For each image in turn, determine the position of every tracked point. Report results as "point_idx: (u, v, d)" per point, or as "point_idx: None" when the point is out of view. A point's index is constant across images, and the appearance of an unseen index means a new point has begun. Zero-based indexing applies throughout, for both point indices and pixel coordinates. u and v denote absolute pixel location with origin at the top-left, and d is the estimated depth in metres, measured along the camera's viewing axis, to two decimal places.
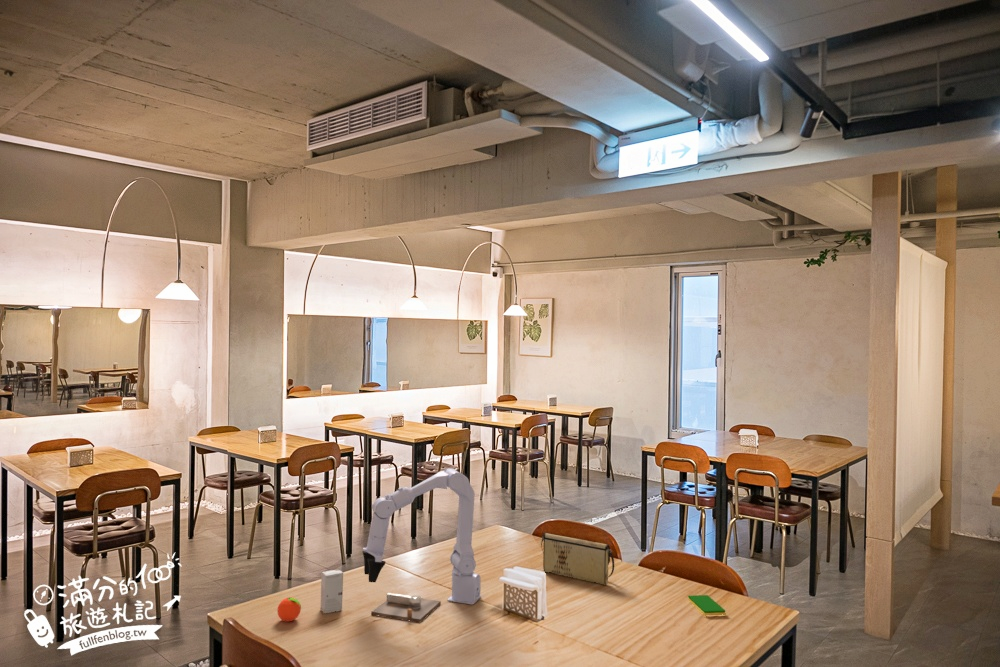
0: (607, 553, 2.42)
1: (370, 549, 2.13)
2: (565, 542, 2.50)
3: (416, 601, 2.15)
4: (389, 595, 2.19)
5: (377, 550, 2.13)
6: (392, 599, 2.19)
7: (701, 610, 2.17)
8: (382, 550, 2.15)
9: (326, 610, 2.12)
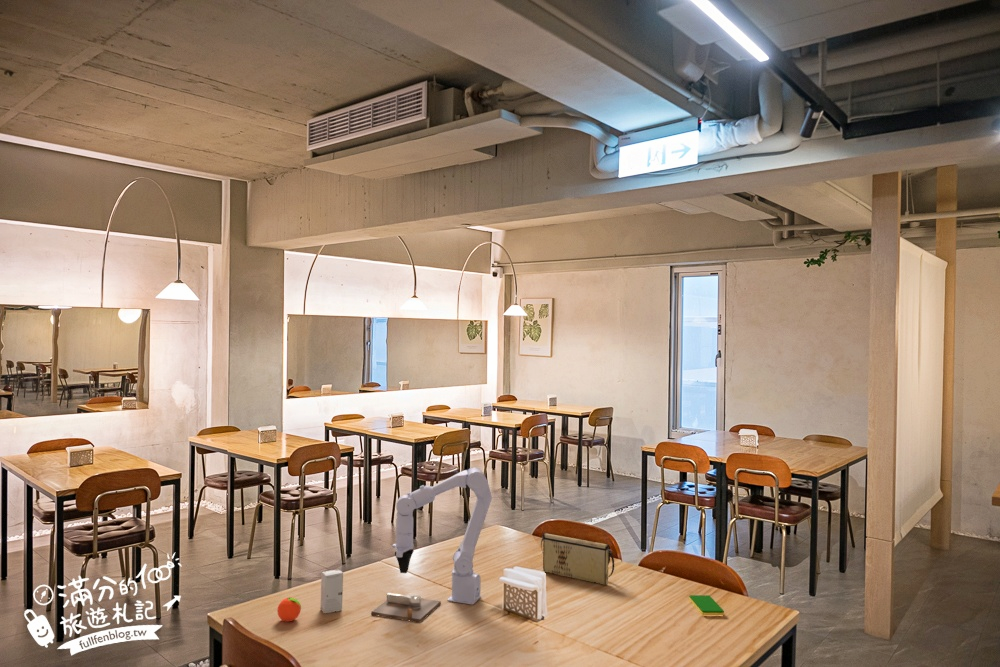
0: (607, 553, 2.42)
1: (397, 545, 2.23)
2: (565, 542, 2.50)
3: (416, 601, 2.15)
4: (389, 595, 2.19)
5: (402, 546, 2.22)
6: (392, 599, 2.19)
7: (700, 610, 2.17)
8: (408, 546, 2.22)
9: (326, 610, 2.12)
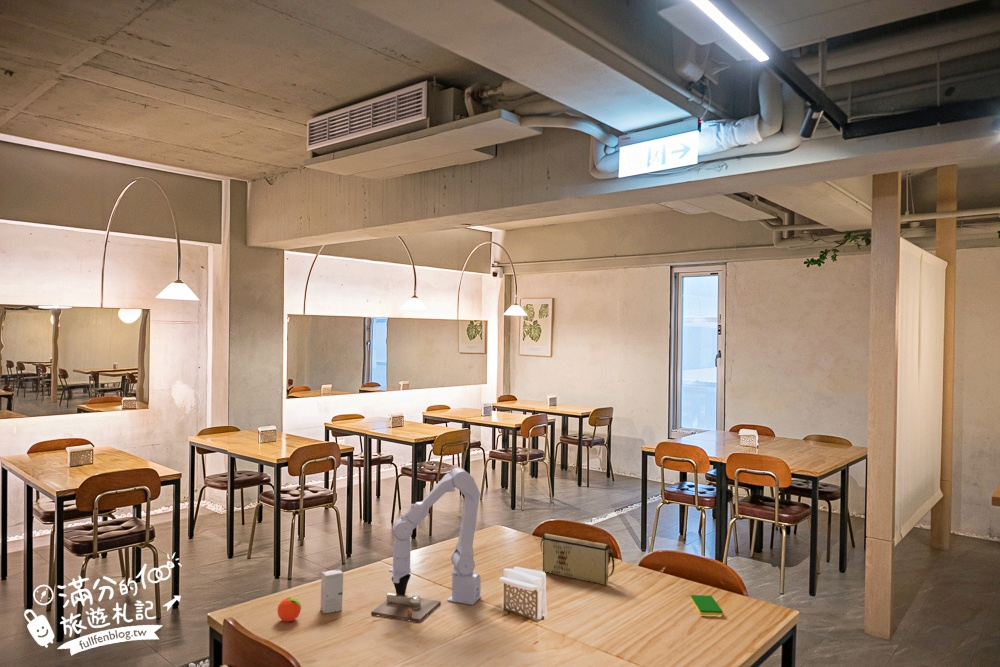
0: (607, 553, 2.42)
1: (393, 570, 2.19)
2: (565, 542, 2.50)
3: (416, 601, 2.15)
4: (389, 595, 2.19)
5: (399, 571, 2.18)
6: (392, 599, 2.19)
7: (698, 609, 2.17)
8: (405, 570, 2.19)
9: (326, 610, 2.12)
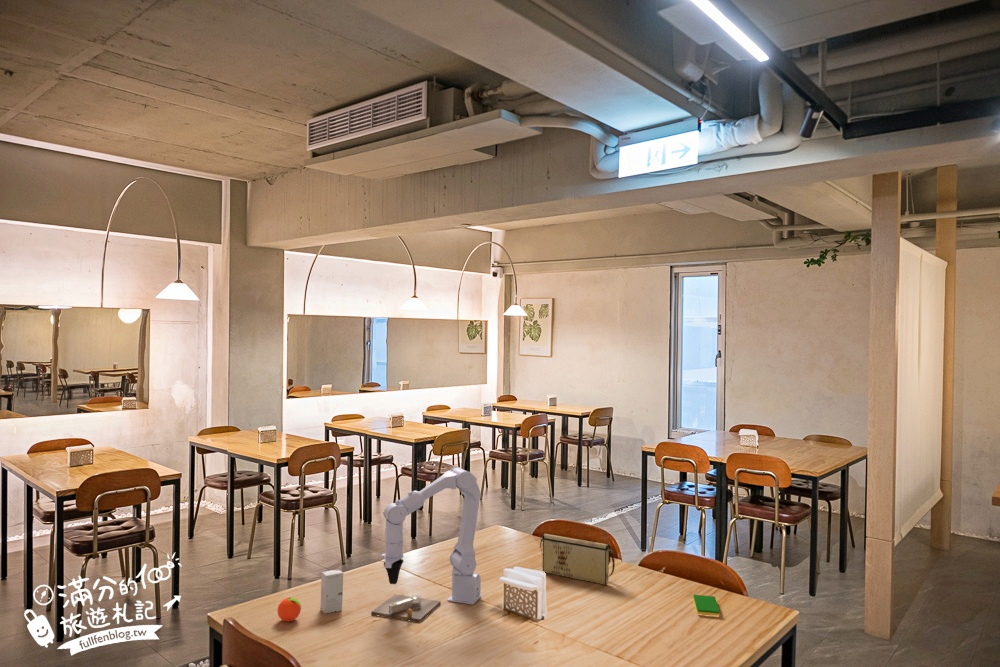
0: (607, 553, 2.42)
1: (386, 555, 2.15)
2: (565, 542, 2.49)
3: (420, 599, 2.17)
4: (394, 606, 2.10)
5: (391, 556, 2.14)
6: (397, 608, 2.11)
7: (696, 608, 2.18)
8: (398, 556, 2.14)
9: (326, 610, 2.12)
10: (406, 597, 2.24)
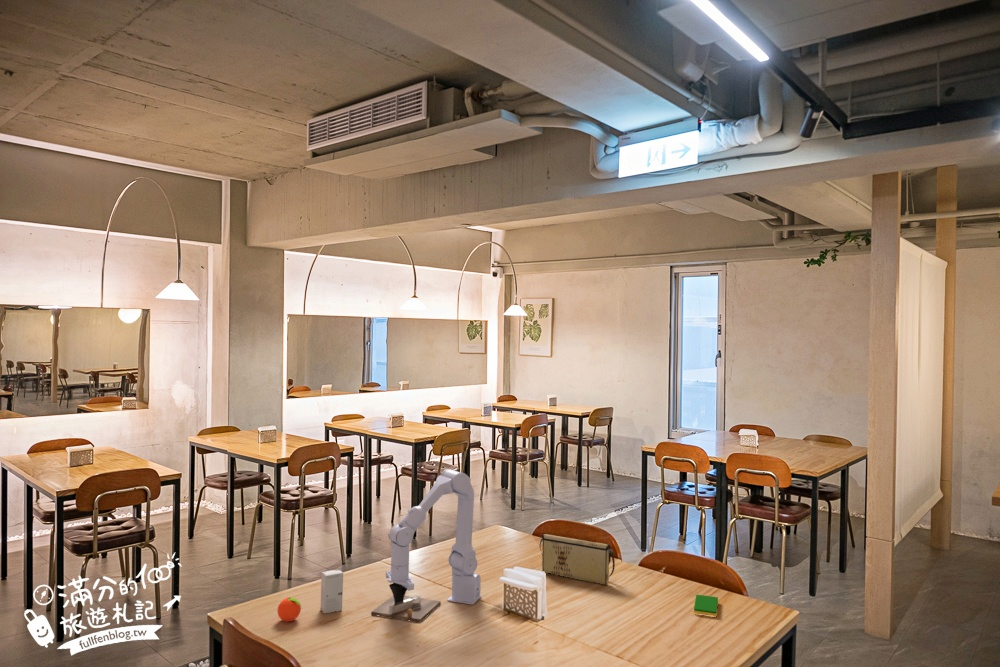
0: (608, 553, 2.42)
1: (397, 579, 2.11)
2: (565, 543, 2.49)
3: (420, 599, 2.17)
4: (394, 606, 2.10)
5: (404, 578, 2.11)
6: (398, 609, 2.11)
7: (694, 608, 2.19)
8: (408, 577, 2.13)
9: (326, 610, 2.12)
10: (406, 597, 2.24)
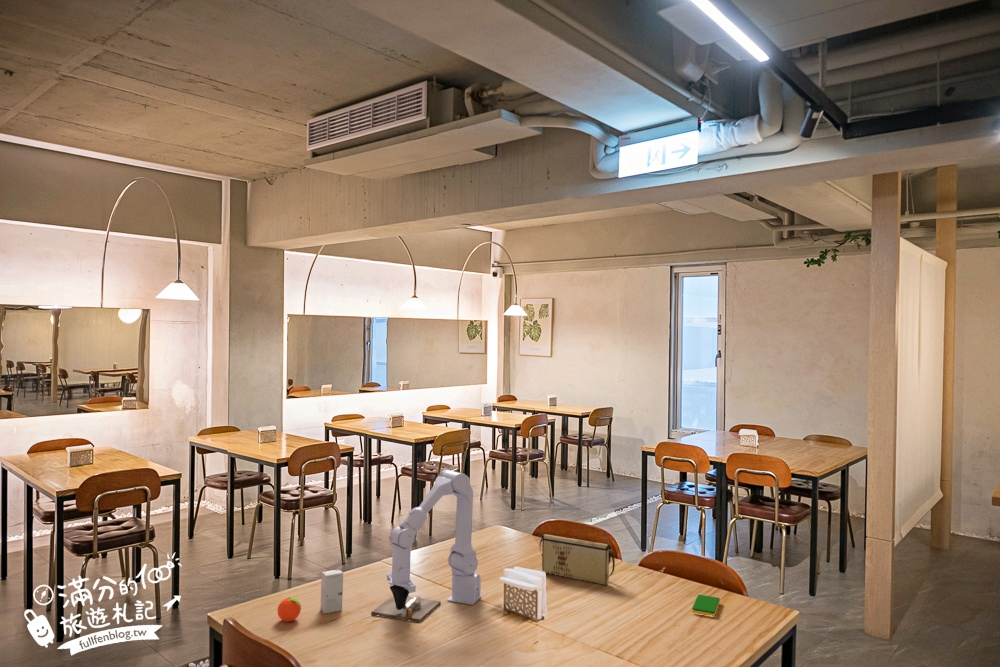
0: (608, 553, 2.42)
1: (398, 581, 2.09)
2: (565, 543, 2.49)
3: None
4: (406, 609, 2.08)
5: (405, 580, 2.10)
6: None
7: None
8: (409, 579, 2.11)
9: (326, 610, 2.12)
10: None
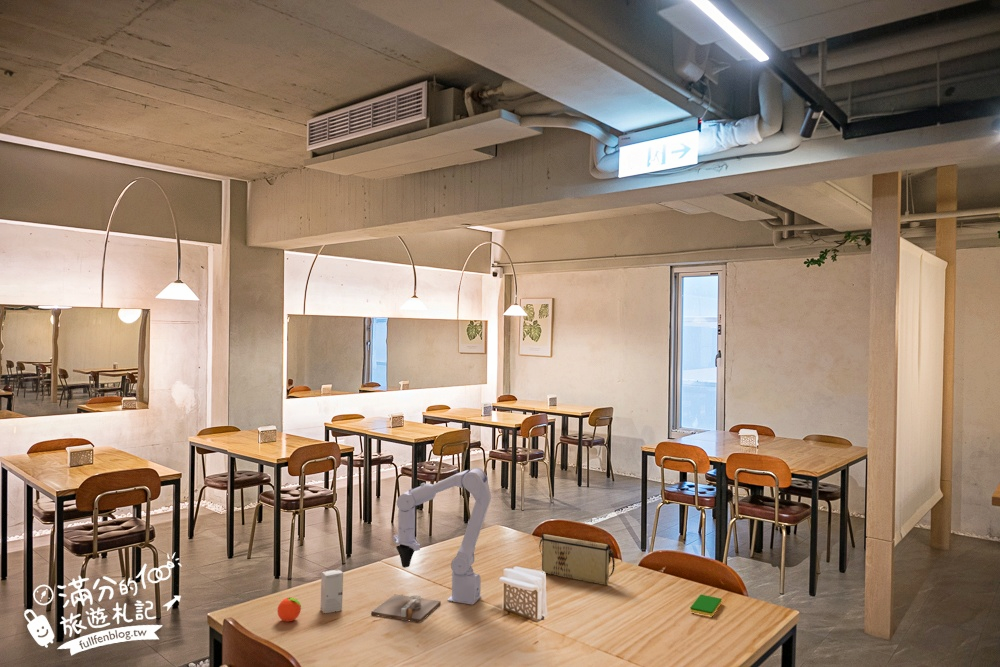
0: (608, 553, 2.42)
1: (404, 541, 2.28)
2: (565, 543, 2.49)
3: None
4: (406, 609, 2.08)
5: (410, 540, 2.28)
6: None
7: None
8: (414, 539, 2.30)
9: (326, 610, 2.12)
10: (406, 597, 2.24)
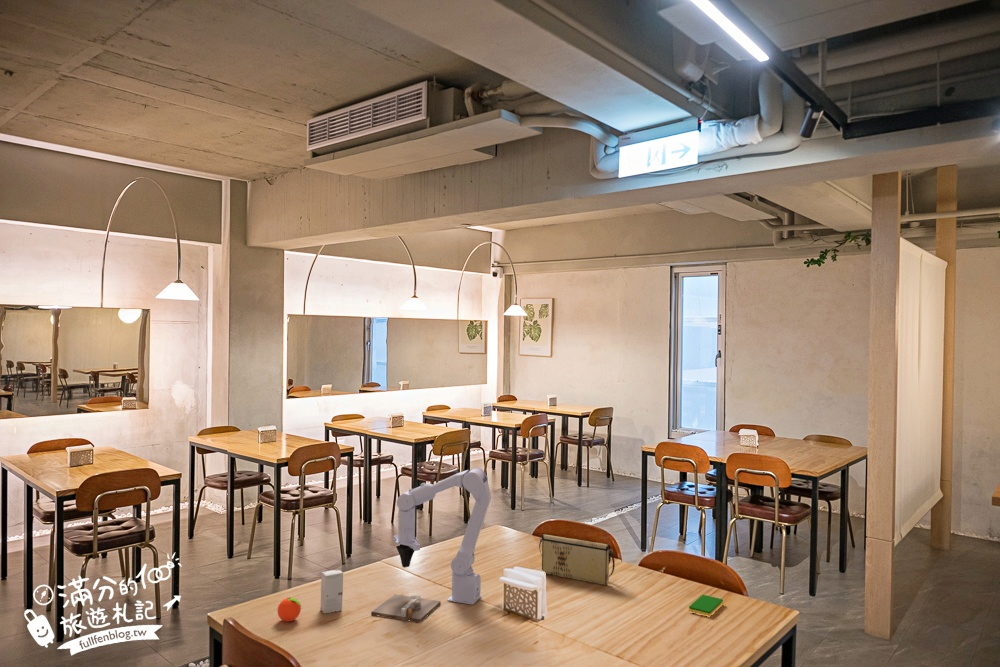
0: (608, 553, 2.42)
1: (404, 541, 2.28)
2: (565, 543, 2.49)
3: None
4: (406, 609, 2.08)
5: (410, 540, 2.28)
6: None
7: None
8: (414, 539, 2.30)
9: (326, 610, 2.12)
10: (406, 597, 2.24)
